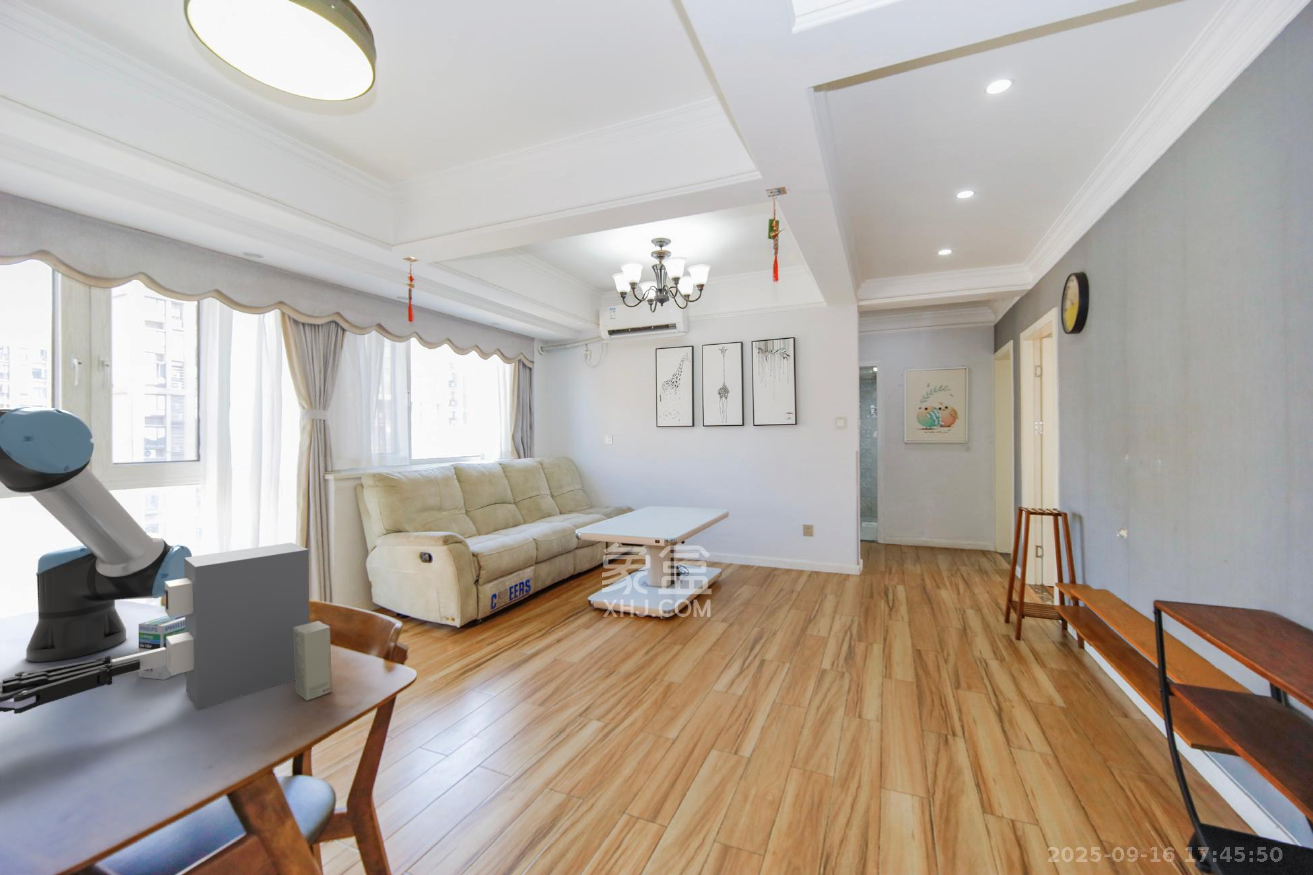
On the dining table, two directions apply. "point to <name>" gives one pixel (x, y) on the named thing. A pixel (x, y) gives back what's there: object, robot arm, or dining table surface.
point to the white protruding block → (179, 597)
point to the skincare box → (312, 659)
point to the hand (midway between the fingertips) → (165, 655)
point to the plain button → (180, 653)
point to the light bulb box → (158, 641)
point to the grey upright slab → (245, 620)
